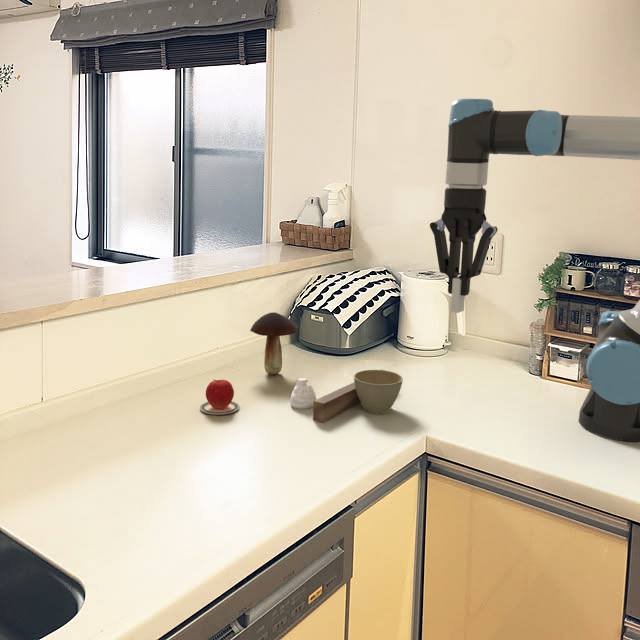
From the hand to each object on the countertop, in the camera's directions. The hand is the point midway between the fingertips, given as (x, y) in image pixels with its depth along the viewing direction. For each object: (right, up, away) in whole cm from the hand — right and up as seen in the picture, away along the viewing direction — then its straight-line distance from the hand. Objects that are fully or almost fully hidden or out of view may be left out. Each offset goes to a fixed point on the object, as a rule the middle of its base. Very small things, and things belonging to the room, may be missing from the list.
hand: (457, 311), depth 136 cm
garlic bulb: (-30, -20, +12) cm, 38 cm away
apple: (-47, -20, +9) cm, 52 cm away
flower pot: (-15, -20, +10) cm, 27 cm away
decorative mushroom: (-37, -15, +31) cm, 51 cm away
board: (-19, -19, +14) cm, 30 cm away
